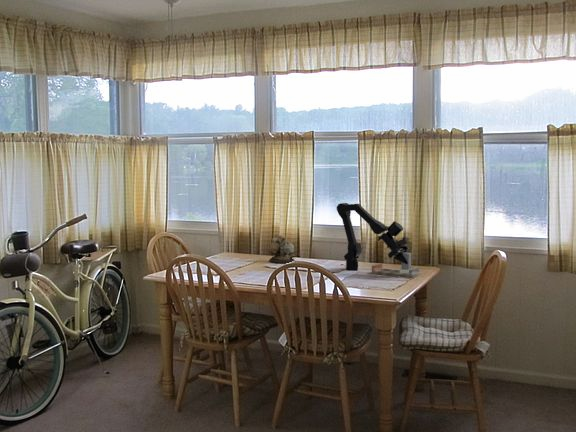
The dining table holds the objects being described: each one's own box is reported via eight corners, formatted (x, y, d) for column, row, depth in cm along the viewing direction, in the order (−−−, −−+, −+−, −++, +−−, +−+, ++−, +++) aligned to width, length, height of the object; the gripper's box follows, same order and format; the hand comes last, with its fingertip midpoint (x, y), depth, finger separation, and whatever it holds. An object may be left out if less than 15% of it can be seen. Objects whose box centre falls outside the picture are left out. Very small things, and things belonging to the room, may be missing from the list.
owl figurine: (264, 263, 366) (264, 235, 365) (270, 260, 378) (270, 233, 376) (292, 264, 361) (292, 236, 360) (298, 261, 372) (298, 234, 371)
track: (371, 273, 333) (371, 265, 332) (378, 270, 341) (378, 263, 341) (412, 278, 320) (412, 269, 320) (418, 275, 328) (419, 267, 328)
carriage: (399, 273, 326) (399, 253, 325) (403, 271, 331) (403, 251, 330) (409, 274, 323) (409, 254, 322) (412, 272, 328) (413, 252, 327)
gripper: (393, 234, 319) (413, 256, 314) (406, 230, 335) (424, 251, 330) (380, 247, 324) (398, 269, 319) (393, 243, 340) (411, 264, 335)
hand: (408, 263), depth 326 cm, fingers closed on carriage, 4 cm apart
